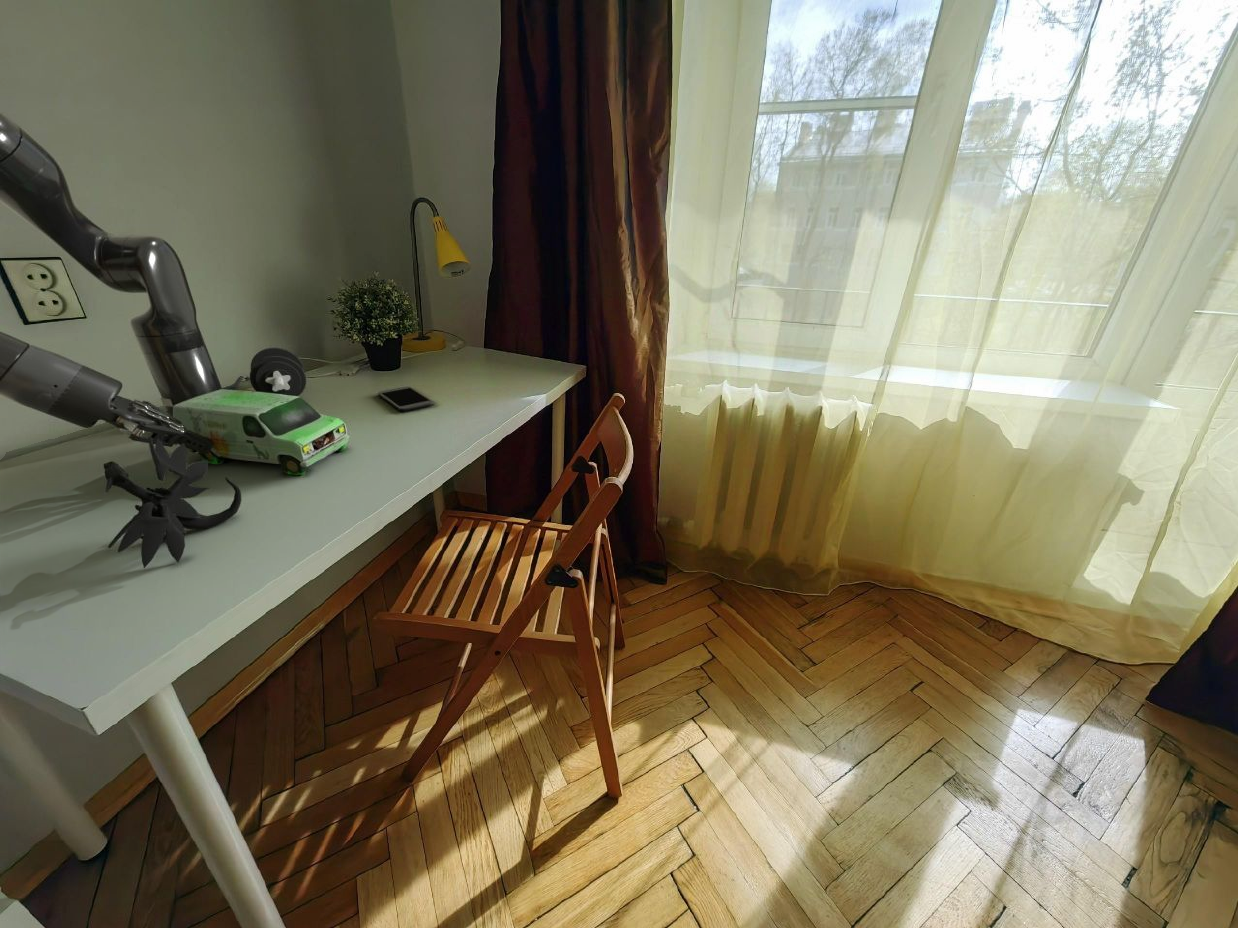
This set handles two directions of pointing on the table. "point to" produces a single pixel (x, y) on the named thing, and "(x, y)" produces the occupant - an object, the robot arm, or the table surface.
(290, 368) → the dumbbell
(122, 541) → the figurine
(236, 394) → the toy car
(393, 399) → the smartphone
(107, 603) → the table surface
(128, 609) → the table surface
